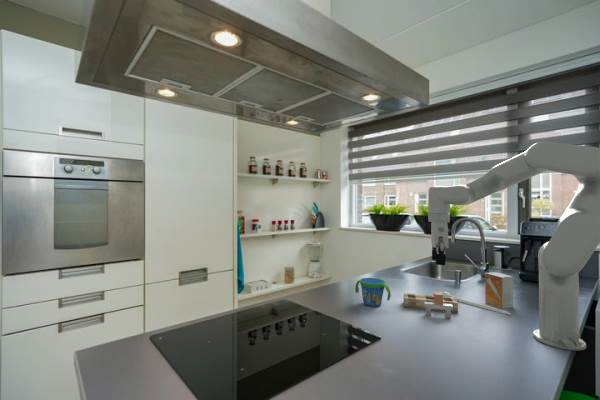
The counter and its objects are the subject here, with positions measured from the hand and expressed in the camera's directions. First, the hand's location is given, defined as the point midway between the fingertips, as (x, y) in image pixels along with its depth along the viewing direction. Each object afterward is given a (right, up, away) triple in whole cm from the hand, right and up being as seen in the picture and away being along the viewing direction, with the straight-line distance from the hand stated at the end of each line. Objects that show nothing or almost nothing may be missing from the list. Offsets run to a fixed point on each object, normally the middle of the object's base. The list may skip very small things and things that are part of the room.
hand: (438, 262), depth 115 cm
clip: (0, -21, 0) cm, 21 cm away
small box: (+32, -21, +12) cm, 40 cm away
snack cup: (-22, -21, +13) cm, 33 cm away
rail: (0, -21, +9) cm, 23 cm away
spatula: (+21, -21, +13) cm, 33 cm away
